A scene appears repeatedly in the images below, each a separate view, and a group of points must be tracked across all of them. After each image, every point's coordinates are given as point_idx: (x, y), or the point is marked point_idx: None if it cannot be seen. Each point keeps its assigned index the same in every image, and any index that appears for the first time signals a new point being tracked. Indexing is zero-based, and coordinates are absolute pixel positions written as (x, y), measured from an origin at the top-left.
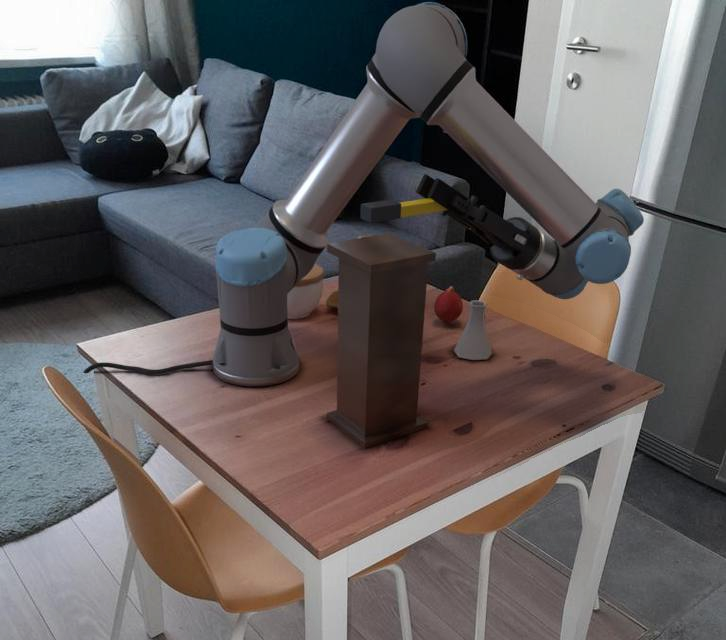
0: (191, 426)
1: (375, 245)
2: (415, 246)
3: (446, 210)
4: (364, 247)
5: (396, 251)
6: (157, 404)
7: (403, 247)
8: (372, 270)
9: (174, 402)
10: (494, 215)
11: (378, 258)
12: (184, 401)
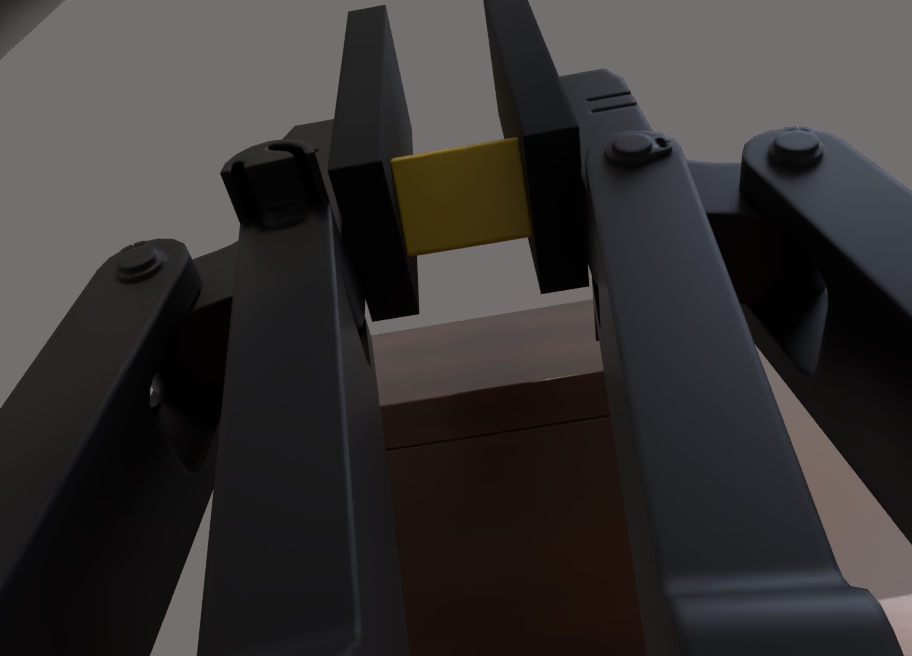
0: None
1: (536, 337)
2: (429, 389)
3: (538, 276)
4: (530, 326)
5: (418, 361)
6: (890, 605)
7: (450, 372)
8: None
9: (899, 628)
10: (39, 392)
11: (391, 343)
12: (903, 642)
